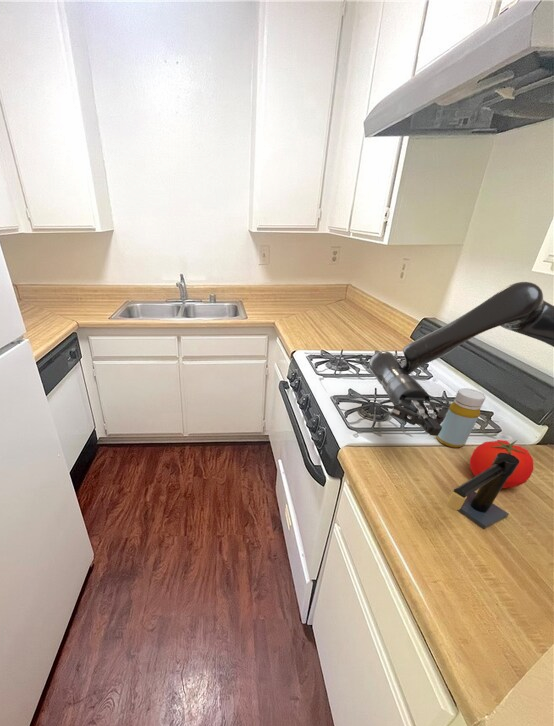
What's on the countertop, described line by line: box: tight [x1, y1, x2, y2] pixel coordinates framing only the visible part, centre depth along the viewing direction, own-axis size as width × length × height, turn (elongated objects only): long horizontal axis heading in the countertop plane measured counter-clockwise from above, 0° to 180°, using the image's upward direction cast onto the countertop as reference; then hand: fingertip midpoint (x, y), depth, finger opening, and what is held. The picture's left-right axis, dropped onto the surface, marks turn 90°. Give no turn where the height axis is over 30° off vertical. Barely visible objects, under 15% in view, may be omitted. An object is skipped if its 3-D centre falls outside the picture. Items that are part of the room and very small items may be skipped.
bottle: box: [436, 387, 487, 449], centre depth 93 cm, size 7×7×15 cm
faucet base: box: [457, 474, 510, 530], centre depth 72 cm, size 8×8×11 cm
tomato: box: [469, 439, 534, 489], centre depth 80 cm, size 12×12×10 cm
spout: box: [446, 453, 519, 511], centre depth 65 cm, size 18×4×5 cm, turn 122°
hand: (436, 431), depth 73 cm, fingers closed
